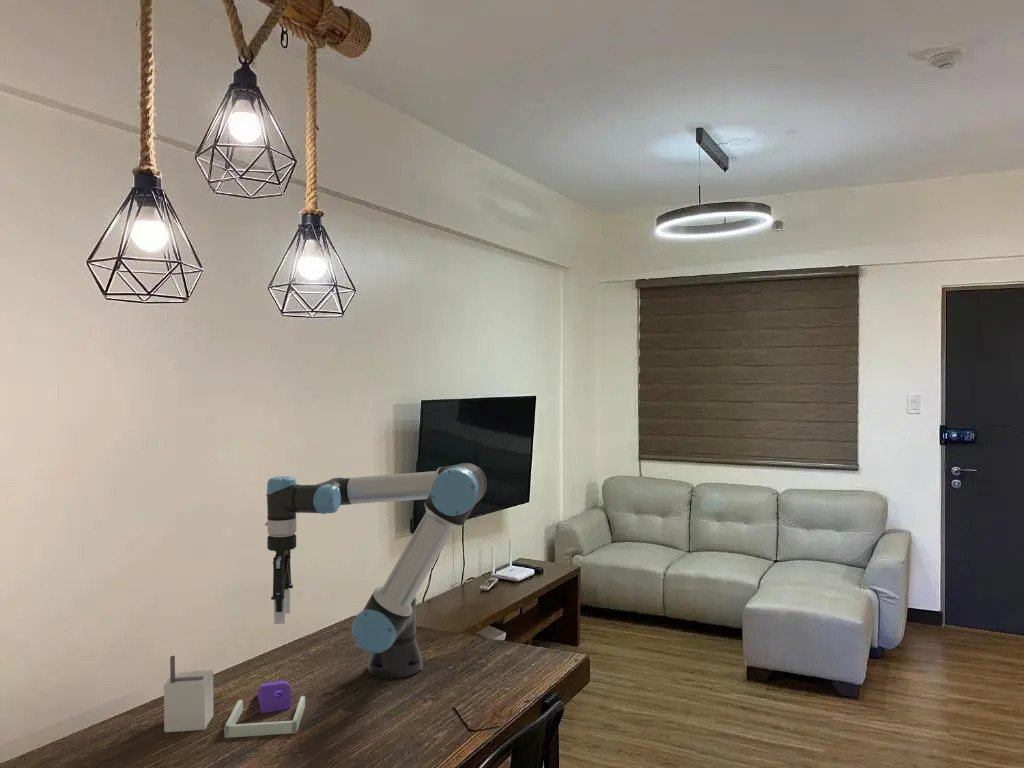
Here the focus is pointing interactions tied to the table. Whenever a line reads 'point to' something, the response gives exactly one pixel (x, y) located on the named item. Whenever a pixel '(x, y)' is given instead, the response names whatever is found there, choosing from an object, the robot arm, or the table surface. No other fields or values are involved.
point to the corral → (262, 724)
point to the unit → (188, 700)
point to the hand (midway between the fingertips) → (282, 618)
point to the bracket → (274, 696)
